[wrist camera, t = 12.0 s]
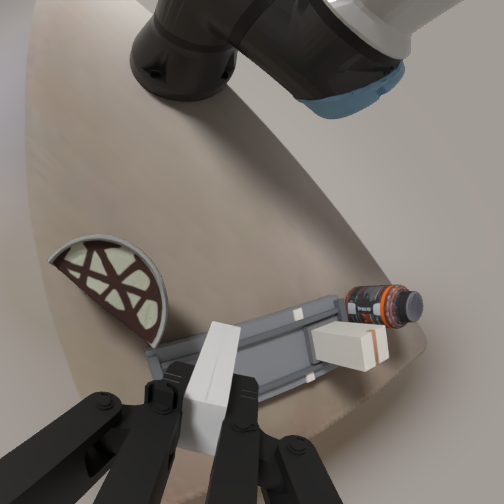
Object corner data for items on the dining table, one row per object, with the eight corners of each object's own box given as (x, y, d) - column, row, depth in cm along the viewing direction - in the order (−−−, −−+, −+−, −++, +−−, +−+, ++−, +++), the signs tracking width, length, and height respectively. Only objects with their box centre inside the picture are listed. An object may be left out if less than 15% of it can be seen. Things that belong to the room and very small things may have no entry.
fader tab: (302, 327, 40) (356, 334, 31) (332, 316, 42) (387, 319, 33) (309, 362, 40) (362, 377, 31) (338, 350, 42) (392, 360, 33)
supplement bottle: (337, 318, 45) (396, 322, 35) (348, 280, 47) (407, 276, 36) (364, 329, 47) (422, 334, 37) (373, 293, 49) (430, 291, 38)
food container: (177, 292, 36) (201, 293, 27) (146, 335, 34) (159, 352, 25) (95, 223, 33) (89, 200, 24) (61, 266, 31) (43, 257, 22)
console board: (144, 348, 33) (147, 353, 31) (329, 295, 45) (343, 295, 42) (168, 425, 33) (173, 435, 30) (340, 359, 44) (354, 363, 42)
